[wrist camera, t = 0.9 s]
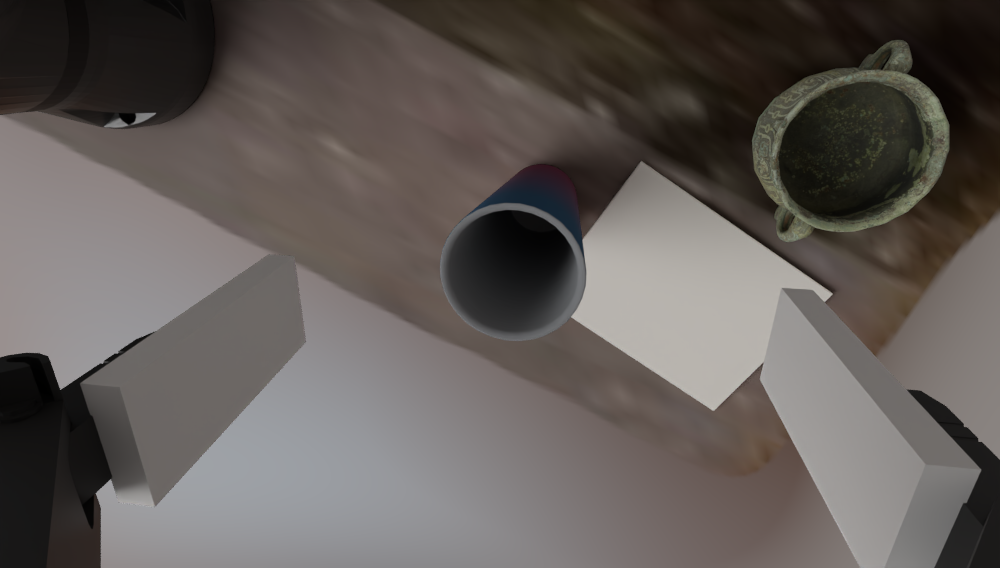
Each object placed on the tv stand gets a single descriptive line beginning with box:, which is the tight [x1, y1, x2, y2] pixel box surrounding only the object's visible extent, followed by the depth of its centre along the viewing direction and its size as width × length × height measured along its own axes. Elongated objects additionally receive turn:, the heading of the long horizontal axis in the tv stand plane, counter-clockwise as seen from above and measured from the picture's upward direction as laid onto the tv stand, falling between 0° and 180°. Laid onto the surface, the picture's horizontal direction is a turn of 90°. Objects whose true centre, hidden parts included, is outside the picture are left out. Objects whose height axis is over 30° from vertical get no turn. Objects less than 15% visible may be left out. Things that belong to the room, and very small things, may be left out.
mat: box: [571, 161, 832, 411], centre depth 40 cm, size 16×12×1 cm
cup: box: [440, 164, 586, 341], centre depth 33 cm, size 7×7×15 cm
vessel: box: [752, 40, 949, 242], centre depth 33 cm, size 12×9×6 cm
